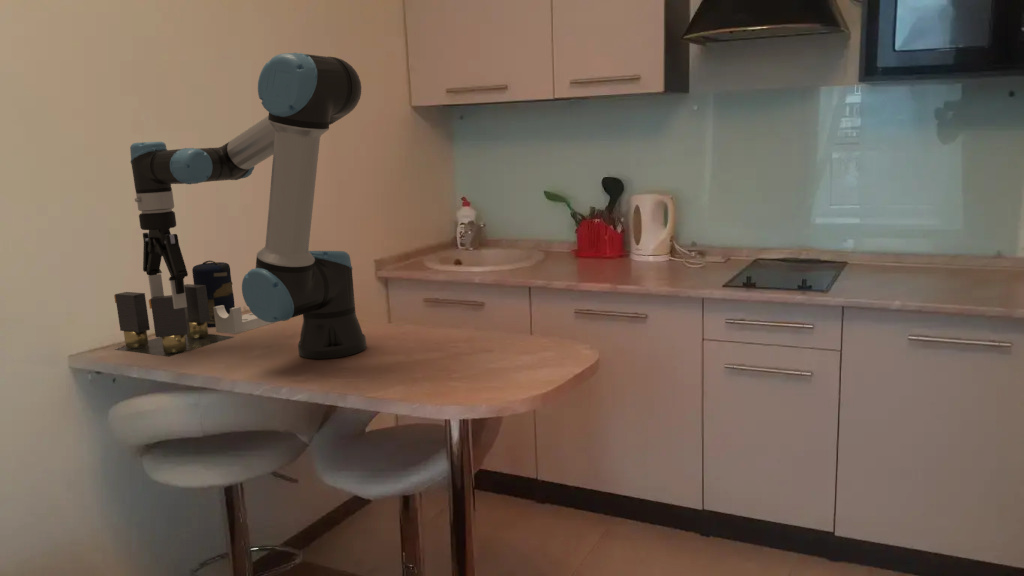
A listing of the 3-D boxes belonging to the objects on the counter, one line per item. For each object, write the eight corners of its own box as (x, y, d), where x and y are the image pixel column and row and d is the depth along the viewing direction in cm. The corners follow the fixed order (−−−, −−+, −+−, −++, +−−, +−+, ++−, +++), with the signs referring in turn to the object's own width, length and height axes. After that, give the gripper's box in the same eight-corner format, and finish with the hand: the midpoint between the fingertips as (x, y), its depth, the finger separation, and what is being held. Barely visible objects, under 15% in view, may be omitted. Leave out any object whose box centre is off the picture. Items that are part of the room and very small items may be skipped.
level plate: (235, 339, 197) (234, 331, 196) (169, 359, 180) (168, 350, 180) (182, 334, 206) (180, 325, 206) (115, 352, 190) (113, 343, 190)
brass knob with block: (155, 343, 192) (148, 292, 190) (137, 348, 188) (129, 296, 186) (136, 341, 196) (129, 290, 194) (117, 346, 192) (110, 294, 190)
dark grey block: (192, 345, 188) (186, 293, 186) (189, 350, 183) (182, 297, 181) (159, 348, 187) (152, 296, 184) (155, 354, 182) (147, 300, 180)
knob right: (215, 334, 199) (209, 284, 197) (198, 338, 195) (192, 288, 193) (195, 332, 203) (189, 283, 201) (179, 336, 199) (172, 286, 196)
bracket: (235, 338, 200) (232, 308, 199) (216, 336, 203) (213, 307, 202) (274, 326, 211) (271, 298, 210) (255, 324, 214) (252, 297, 213)
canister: (224, 320, 221) (217, 256, 217) (243, 324, 215) (236, 258, 211) (192, 328, 213) (184, 262, 210) (211, 331, 207) (202, 264, 204)
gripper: (119, 211, 185) (132, 302, 189) (161, 214, 168) (174, 313, 172) (152, 208, 190) (164, 296, 194) (195, 210, 173) (207, 307, 177)
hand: (169, 305), depth 183 cm, fingers open, 12 cm apart
